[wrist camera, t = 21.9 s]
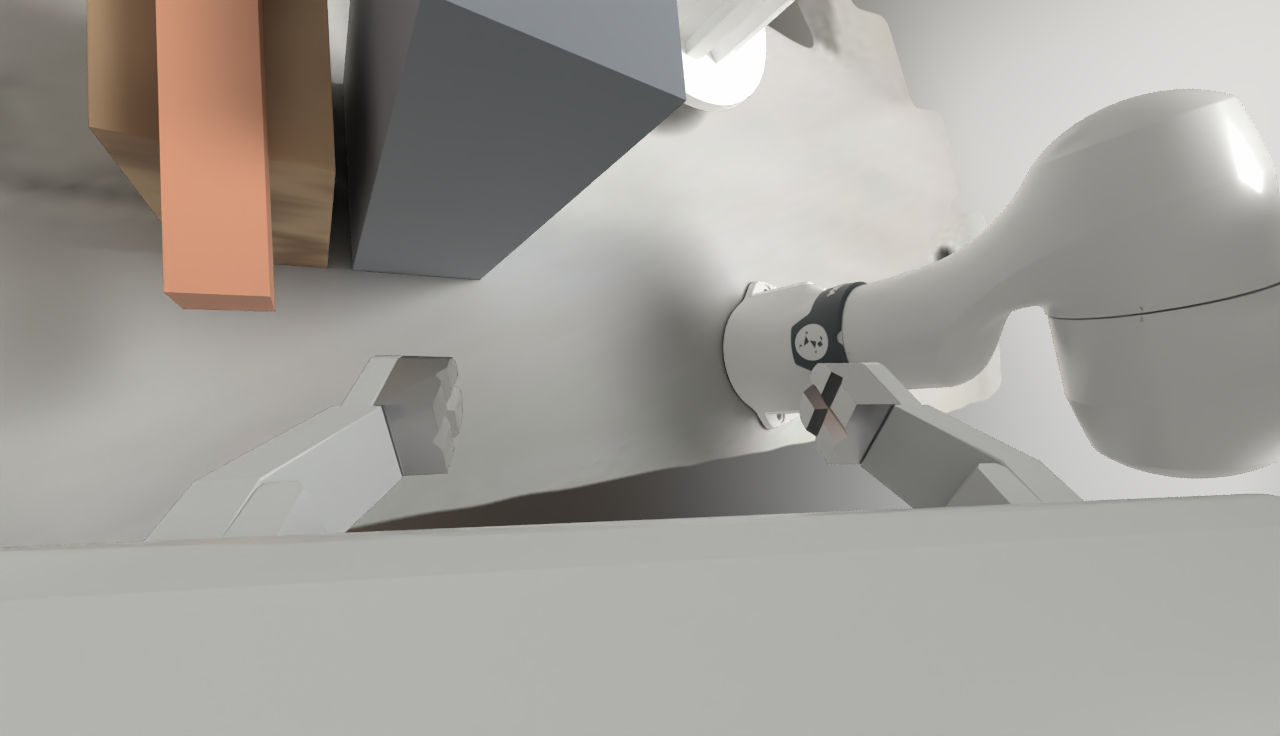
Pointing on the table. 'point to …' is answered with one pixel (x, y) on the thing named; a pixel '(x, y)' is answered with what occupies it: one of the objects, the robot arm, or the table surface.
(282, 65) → the block
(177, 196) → the bar
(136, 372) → the table surface
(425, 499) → the table surface
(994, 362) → the table surface
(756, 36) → the ribbed cylinder on disc
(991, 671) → the robot arm
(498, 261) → the pedestal
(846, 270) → the table surface
